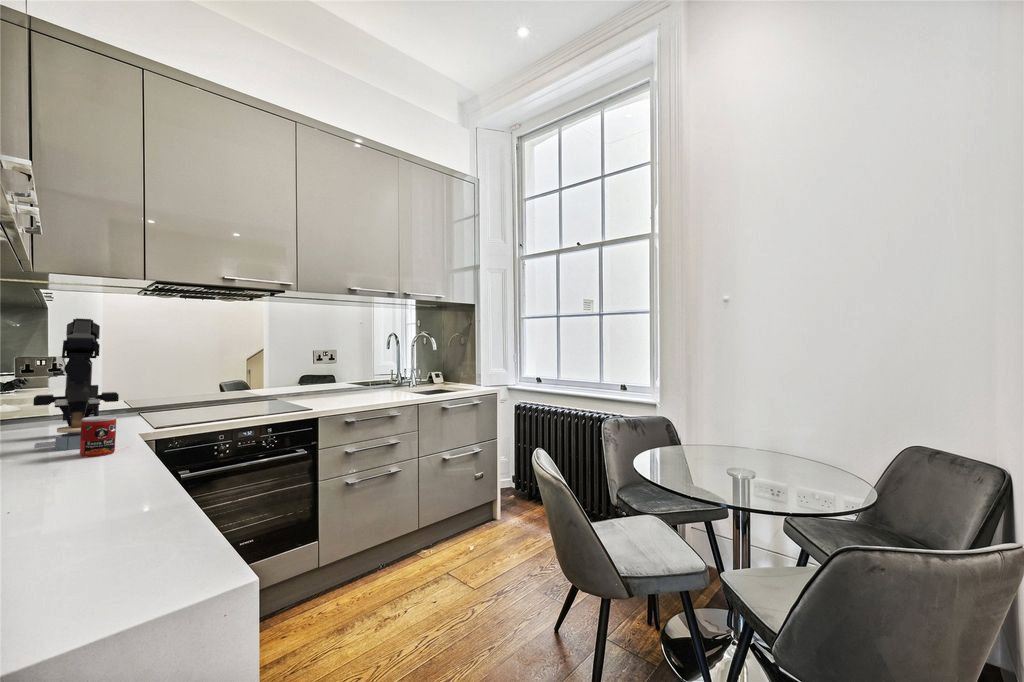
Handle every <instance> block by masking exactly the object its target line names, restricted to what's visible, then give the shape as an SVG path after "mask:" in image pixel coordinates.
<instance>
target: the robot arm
mask: <svg viewBox="0 0 1024 682" xmlns="http://www.w3.org/2000/svg"><path fill="white" fill-rule="evenodd" d="M100 329H101V326H100V325H99V324H97V323H96V322H94V319H91V318H78V317H77V318H73V320H72V321H71V322H69V323H67V324H66V335H65V336H66V339H63V343H62V350H61V351H62V353H61V359H68V361H66V364H65V366H64V372H65V375H66V376H65V391H64V395H62V396H54V394H51V393H49V394H37V395H35V396H34V397H33V402H32V403H33V405H32V406H34V407H35V406H50V405H51V404H52V403H54V408H59V410H60V411H61V412H62V421H63V422H65V421H66V423H67V426H69V427H70V426H71V413H76V412H84V417H83V418H87V417H95V416H100V415H99V411H100V410H99V409H100V405H101V401H103V402H104V403H112V402H113V403H114V402H116V403H117V402H119V398H120V397H119V393H118V392H117V391H108V392H106V391H105V392H101V394H99V385H98V384H92V374H93V361H92V359H97V357H100V346H101V345H100V343H99V341H98V340H100V331H101V330H100ZM73 433H76V432H73Z"/></svg>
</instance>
